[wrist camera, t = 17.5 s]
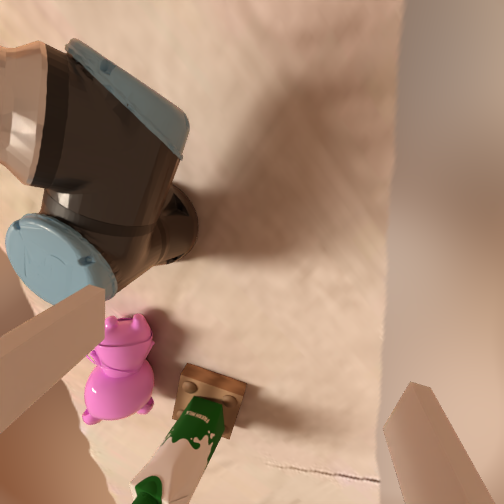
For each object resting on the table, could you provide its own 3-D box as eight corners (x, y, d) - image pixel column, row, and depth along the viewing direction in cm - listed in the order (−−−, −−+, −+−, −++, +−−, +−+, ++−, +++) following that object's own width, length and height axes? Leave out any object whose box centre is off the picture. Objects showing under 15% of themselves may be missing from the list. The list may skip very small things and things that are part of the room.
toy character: (85, 297, 56) (81, 398, 60) (68, 329, 44) (64, 452, 48) (162, 298, 61) (152, 390, 66) (165, 326, 49) (153, 436, 54)
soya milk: (226, 401, 54) (161, 519, 36) (229, 434, 56) (170, 558, 39) (189, 390, 57) (114, 494, 39) (194, 422, 60) (125, 531, 42)
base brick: (179, 403, 64) (171, 419, 60) (188, 361, 59) (180, 375, 55) (233, 423, 63) (229, 440, 59) (247, 381, 58) (243, 397, 54)
